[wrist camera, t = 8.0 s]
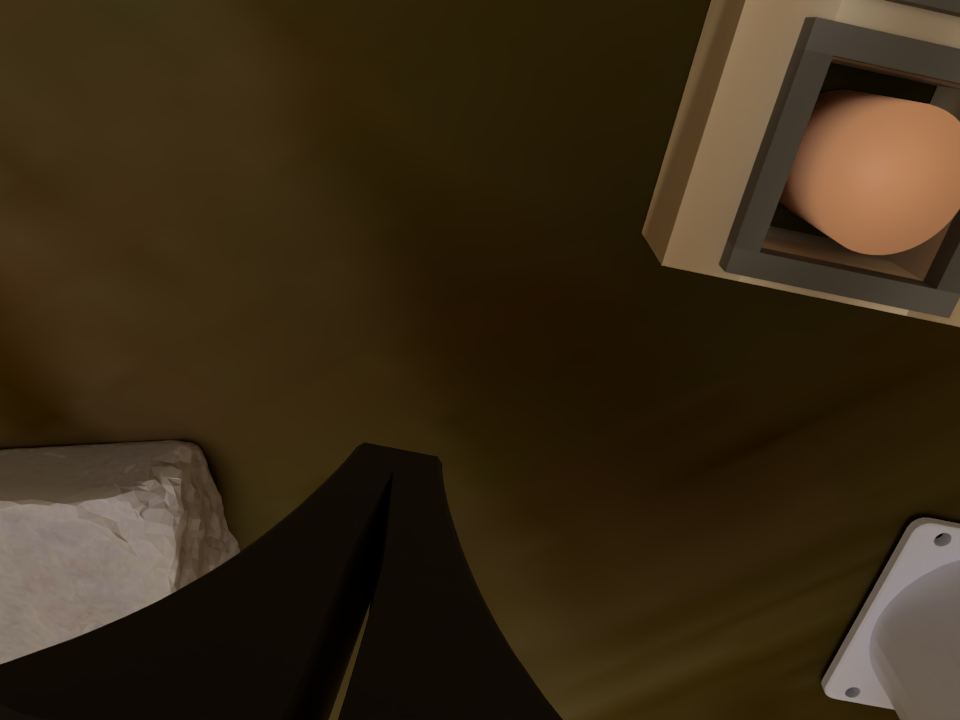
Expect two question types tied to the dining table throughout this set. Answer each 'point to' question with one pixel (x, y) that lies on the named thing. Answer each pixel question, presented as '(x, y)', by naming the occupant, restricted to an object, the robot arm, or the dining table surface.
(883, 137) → the peg
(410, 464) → the robot arm
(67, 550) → the stone block
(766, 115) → the socket block
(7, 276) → the dining table surface
